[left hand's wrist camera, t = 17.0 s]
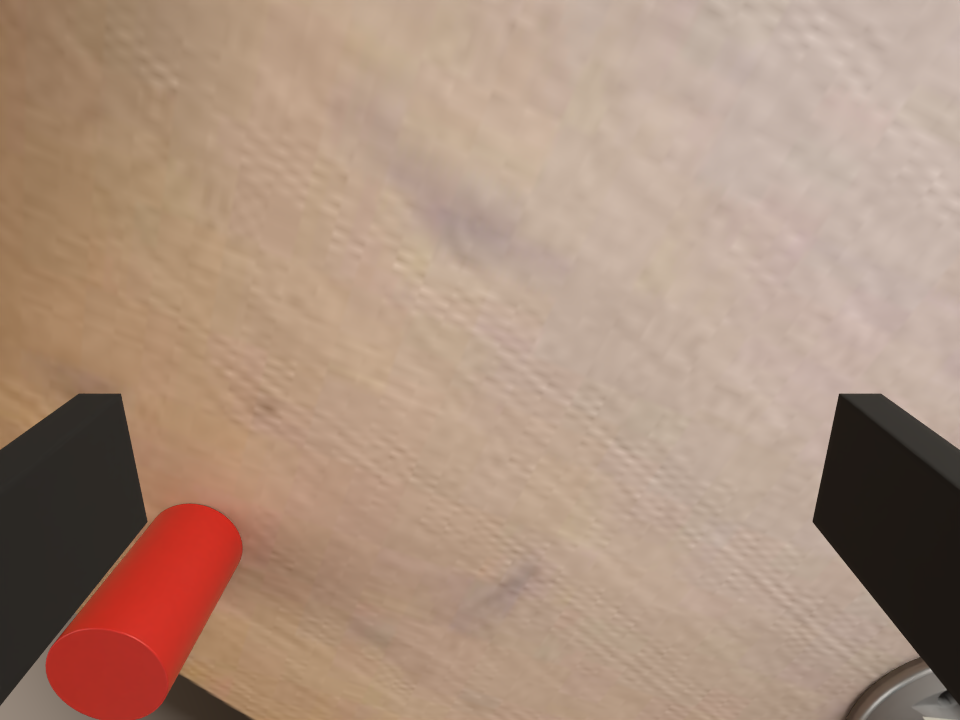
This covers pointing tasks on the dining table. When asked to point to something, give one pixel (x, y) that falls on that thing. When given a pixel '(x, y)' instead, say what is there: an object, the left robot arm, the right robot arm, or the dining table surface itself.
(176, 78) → the dining table surface
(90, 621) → the canister
